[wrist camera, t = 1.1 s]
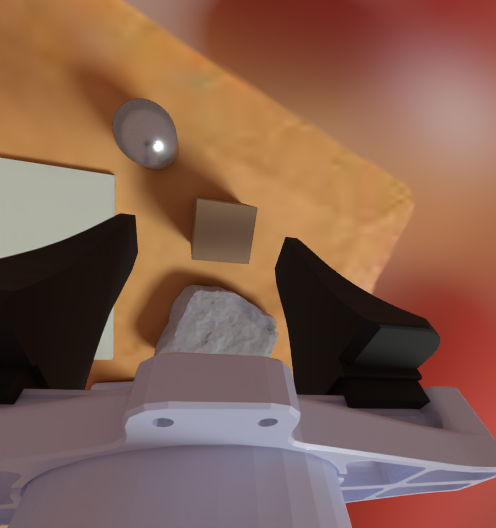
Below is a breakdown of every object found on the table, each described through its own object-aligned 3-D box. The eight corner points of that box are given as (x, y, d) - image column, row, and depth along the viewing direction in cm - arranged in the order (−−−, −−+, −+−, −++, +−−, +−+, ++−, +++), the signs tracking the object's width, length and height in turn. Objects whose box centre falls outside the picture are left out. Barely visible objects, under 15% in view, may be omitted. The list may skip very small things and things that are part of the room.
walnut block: (235, 247, 26) (248, 264, 20) (190, 243, 24) (191, 259, 19) (241, 203, 24) (257, 207, 19) (194, 196, 23) (197, 198, 18)
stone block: (184, 270, 27) (148, 356, 27) (189, 277, 23) (146, 380, 22) (273, 303, 31) (243, 377, 31) (293, 315, 27) (258, 402, 27)
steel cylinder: (176, 173, 22) (174, 169, 18) (128, 165, 21) (112, 158, 17) (180, 124, 21) (178, 106, 17) (129, 113, 20) (112, 91, 16)
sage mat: (113, 356, 26) (112, 359, 25) (-5, 358, 23) (-9, 362, 23) (115, 175, 21) (113, 175, 21) (-32, 152, 19) (-38, 151, 18)
